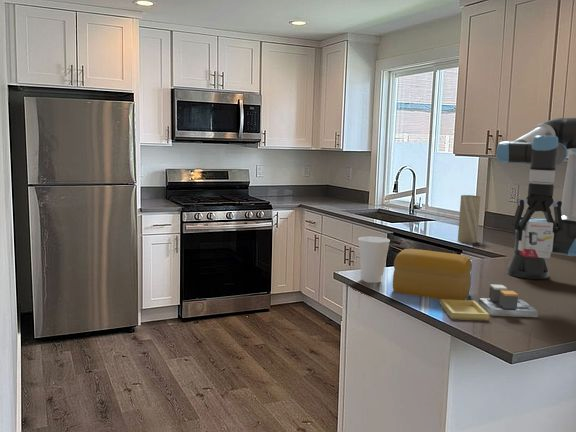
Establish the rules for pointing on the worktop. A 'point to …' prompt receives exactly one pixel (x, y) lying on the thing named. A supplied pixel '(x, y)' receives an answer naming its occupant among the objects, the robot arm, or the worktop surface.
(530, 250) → the ink box
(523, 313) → the panel
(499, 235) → the worktop surface
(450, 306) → the yellow tray
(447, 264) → the bread
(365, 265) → the cup
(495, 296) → the toggle plain
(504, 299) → the grey block
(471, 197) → the tube
